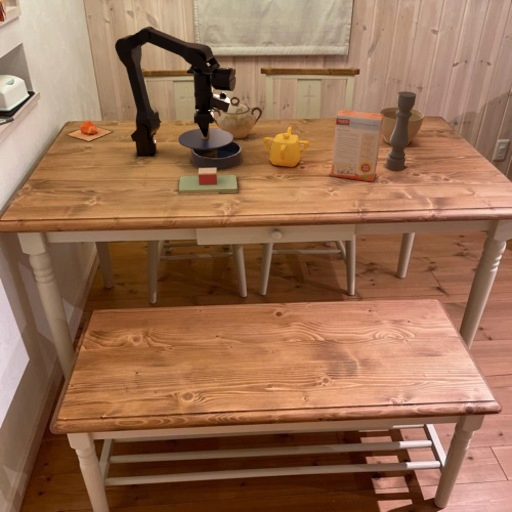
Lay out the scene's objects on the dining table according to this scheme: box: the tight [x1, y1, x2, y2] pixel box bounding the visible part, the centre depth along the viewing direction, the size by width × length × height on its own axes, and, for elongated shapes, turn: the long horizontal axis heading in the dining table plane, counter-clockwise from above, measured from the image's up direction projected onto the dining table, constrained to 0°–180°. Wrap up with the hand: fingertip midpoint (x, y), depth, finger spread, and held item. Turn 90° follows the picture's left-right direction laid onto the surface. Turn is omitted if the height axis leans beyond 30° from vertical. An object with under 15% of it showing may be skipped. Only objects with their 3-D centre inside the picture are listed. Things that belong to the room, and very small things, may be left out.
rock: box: [66, 120, 112, 142], centre depth 200 cm, size 12×12×4 cm
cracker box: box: [330, 109, 384, 183], centre depth 166 cm, size 14×6×21 cm, turn 71°
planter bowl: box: [379, 106, 425, 145], centre depth 194 cm, size 16×16×11 cm
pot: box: [190, 140, 243, 171], centre depth 180 cm, size 17×17×4 cm
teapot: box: [262, 125, 310, 168], centre depth 178 cm, size 14×13×10 cm
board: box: [178, 174, 238, 194], centre depth 164 cm, size 18×10×2 cm, turn 94°
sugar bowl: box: [214, 96, 263, 139], centre depth 197 cm, size 20×15×15 cm
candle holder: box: [385, 91, 417, 172], centre depth 171 cm, size 6×6×25 cm
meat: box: [198, 167, 218, 185], centre depth 162 cm, size 6×4×4 cm
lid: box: [177, 127, 234, 150], centre depth 173 cm, size 18×18×6 cm
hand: (205, 135), depth 174 cm, fingers closed on lid, 3 cm apart
